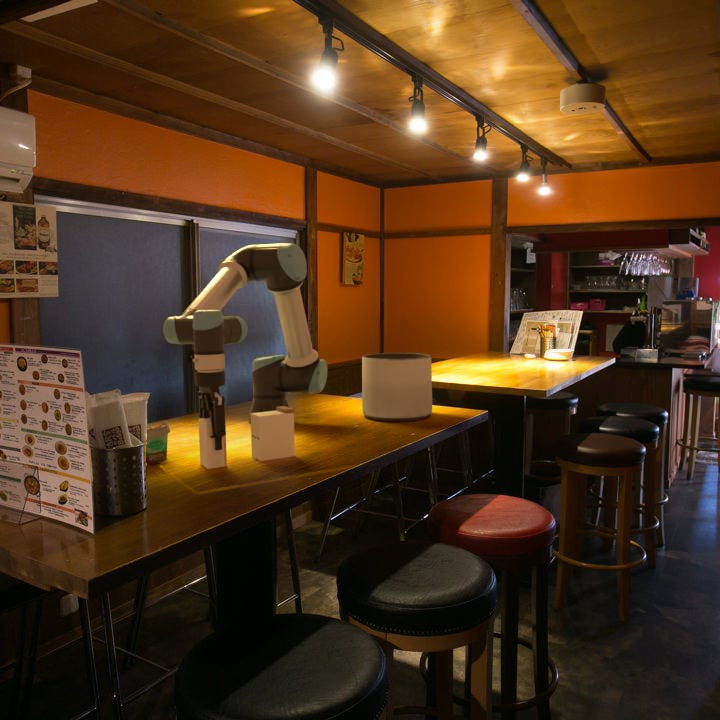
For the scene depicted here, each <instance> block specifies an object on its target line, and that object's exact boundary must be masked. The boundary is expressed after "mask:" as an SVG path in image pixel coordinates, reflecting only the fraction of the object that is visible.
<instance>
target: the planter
mask: <svg viewBox="0 0 720 720" xmlns="http://www.w3.org/2000/svg"><path fill="white" fill-rule="evenodd" d="M361 363H362V364H361V370H362V371H361V378H362V379H361V380H362V381H361V383H362V384H361V385H362V386H361V389H362V390H361V391H362V392H361V395H362V396H361V399H362V400H361V403H362V404H361V408H362V409H361V410H362V414H363V415H364V416H365V417H366V418H368V419H371V420H374V421H380V422H381V421H382V422H412V421H419V419H420V420H422V419H425V418H426V419H427V418H428V417H429V416H430V415H432V413H433V382H432V379H433V378H432V375H433V374H432V356H431V355H430V354H428V353H417V352H384V353H383V352H382V353H371V354H364V355H362V357H361Z"/></svg>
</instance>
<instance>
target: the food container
mask: <svg viewBox="0 0 720 720" xmlns="http://www.w3.org/2000/svg"><path fill="white" fill-rule="evenodd" d="M168 424H169V423H168V422H165V421H162V423H161V425H157V426H146V427H147V444H146V463H147V466H146V467H151V466H152V467H153V466H159V465H161V463H160V462H163V461H165V460H167V458H168V457H167V455H168V439H169V437H168V436H169V435H168V434H169V433H171V428H170V425H168Z"/></svg>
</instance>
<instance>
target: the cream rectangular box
mask: <svg viewBox="0 0 720 720" xmlns="http://www.w3.org/2000/svg"><path fill="white" fill-rule="evenodd" d="M294 409H295V408H293V407H290V406H289V407H285V406H280V407H276V411H268V412H259V413H251V423H250V435H251V436H250V439H251V441H250V442H251V457H252V458H254V459H255V460H258V461H260V462H263V461H264V462H265V461H269V460H270V461H271V460H277V459H283V458H284V459H285V458H289V457H295V456H296V446H295V414H294V412H295V410H294Z"/></svg>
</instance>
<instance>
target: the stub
mask: <svg viewBox="0 0 720 720" xmlns="http://www.w3.org/2000/svg"><path fill="white" fill-rule="evenodd" d="M212 435H213V434H212V427H211V420H210V418H200V419H199V418H198V436H199V437H198V440H199V464H200V465H201V466H202V467H204V468H206V469H208V470H210V469H217V468H223V467H228V462H227V460H228V459H227V434H226V435H224V436H223V462H217V463H212V445H211V438H210V436H212Z"/></svg>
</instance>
